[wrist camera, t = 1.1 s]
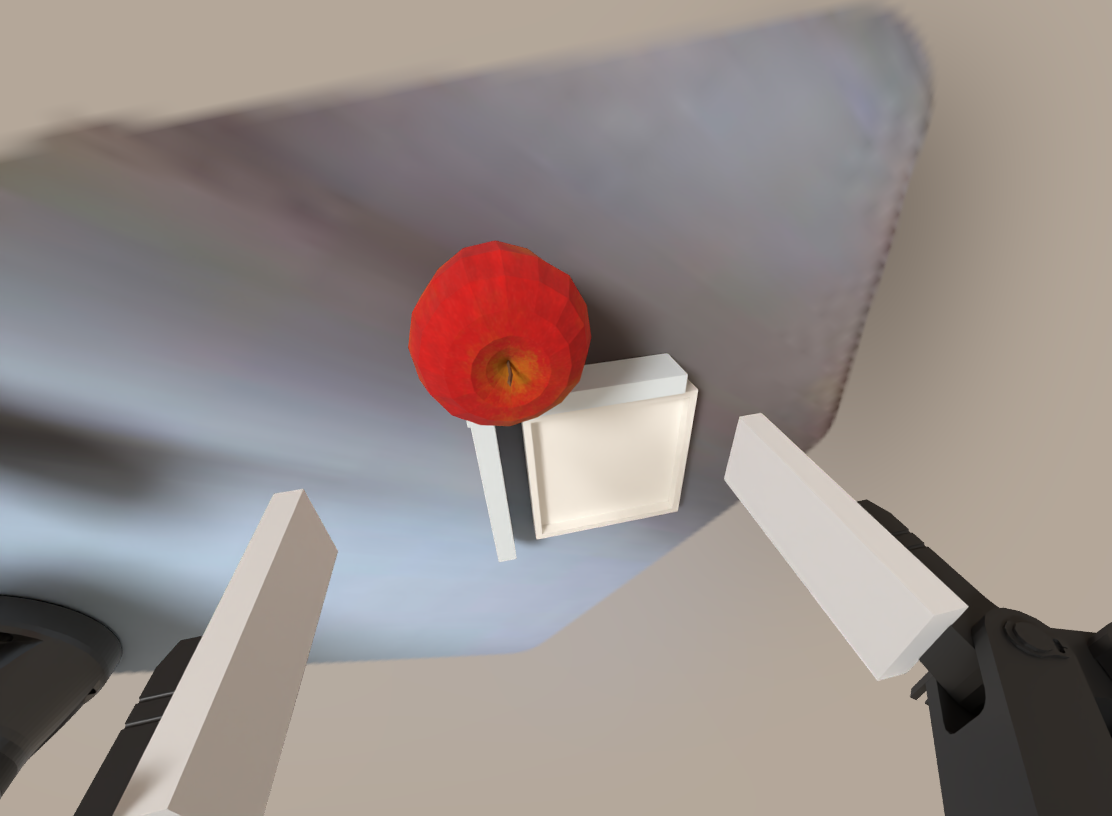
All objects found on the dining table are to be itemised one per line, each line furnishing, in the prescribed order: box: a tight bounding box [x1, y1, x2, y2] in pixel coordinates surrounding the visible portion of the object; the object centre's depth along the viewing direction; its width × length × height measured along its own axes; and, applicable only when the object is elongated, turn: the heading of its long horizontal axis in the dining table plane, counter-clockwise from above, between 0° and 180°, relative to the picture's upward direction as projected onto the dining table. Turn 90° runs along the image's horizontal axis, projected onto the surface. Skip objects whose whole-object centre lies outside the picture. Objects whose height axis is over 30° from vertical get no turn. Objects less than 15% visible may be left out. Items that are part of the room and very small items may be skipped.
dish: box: [521, 379, 698, 539], centre depth 37 cm, size 14×14×2 cm
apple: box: [408, 241, 591, 426], centre depth 23 cm, size 9×9×12 cm
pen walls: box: [466, 353, 688, 562], centre depth 35 cm, size 16×17×4 cm
